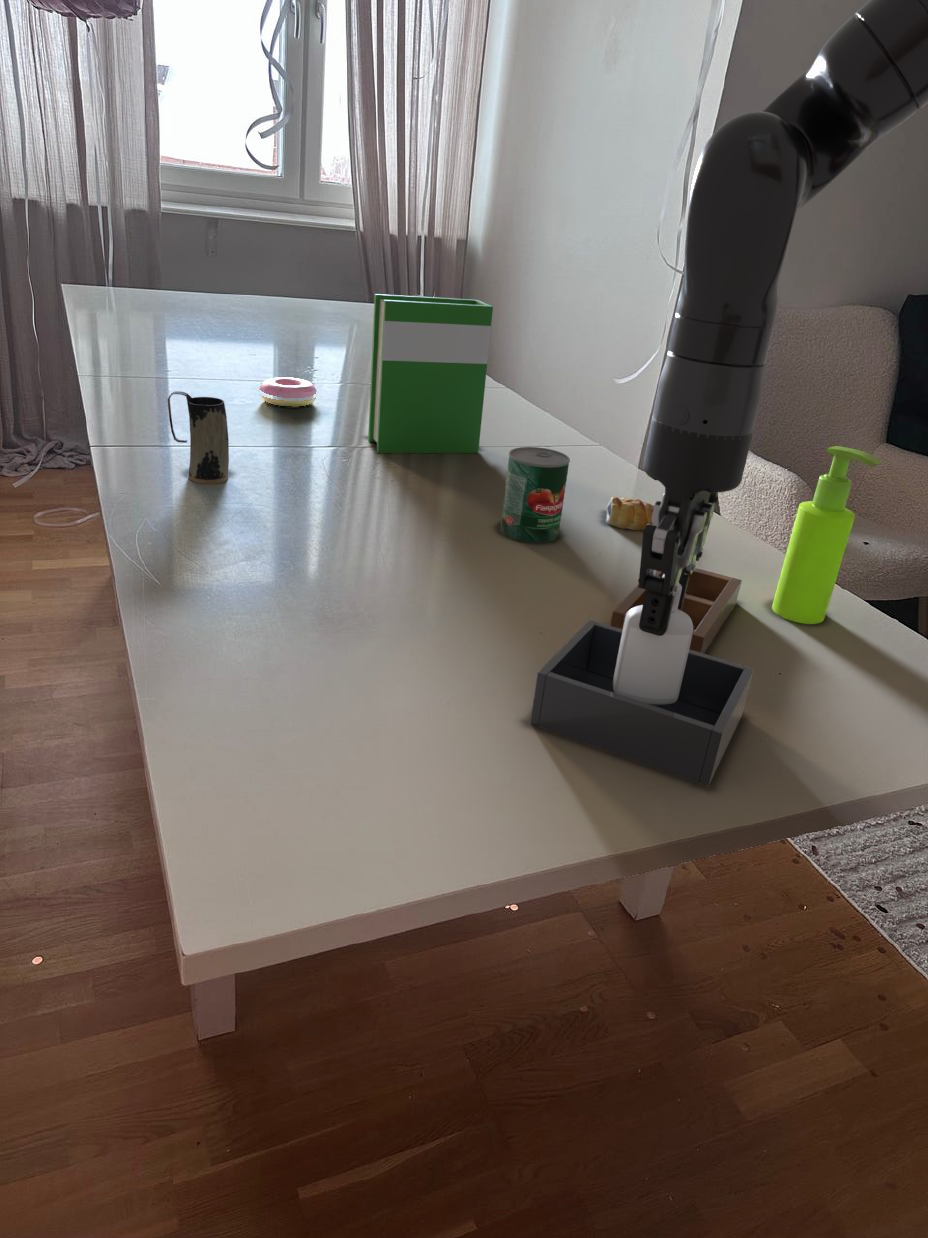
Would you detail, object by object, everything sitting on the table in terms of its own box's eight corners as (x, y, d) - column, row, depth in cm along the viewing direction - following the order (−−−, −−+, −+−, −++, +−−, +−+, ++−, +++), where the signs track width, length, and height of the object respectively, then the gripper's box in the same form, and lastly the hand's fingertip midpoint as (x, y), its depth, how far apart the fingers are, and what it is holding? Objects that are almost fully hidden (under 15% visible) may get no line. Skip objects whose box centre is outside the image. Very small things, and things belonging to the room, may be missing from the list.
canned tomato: (546, 551, 115) (558, 468, 110) (490, 537, 118) (499, 456, 113) (566, 533, 122) (578, 454, 117) (512, 520, 124) (522, 443, 120)
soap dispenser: (816, 636, 100) (868, 461, 91) (761, 612, 104) (806, 444, 95) (840, 623, 103) (893, 454, 95) (786, 601, 108) (832, 438, 99)
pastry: (666, 521, 130) (672, 496, 128) (673, 538, 124) (679, 512, 122) (602, 514, 130) (606, 489, 129) (606, 531, 124) (611, 505, 122)
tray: (735, 607, 105) (742, 579, 103) (696, 668, 90) (704, 637, 89) (656, 585, 108) (661, 558, 107) (607, 640, 94) (612, 611, 92)
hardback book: (377, 452, 148) (385, 300, 137) (368, 440, 154) (374, 293, 144) (478, 452, 154) (493, 306, 143) (464, 440, 160) (478, 299, 149)
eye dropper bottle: (663, 717, 75) (692, 587, 70) (603, 692, 78) (627, 565, 72) (683, 697, 78) (713, 571, 73) (625, 674, 81) (650, 551, 76)
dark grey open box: (740, 721, 82) (754, 668, 79) (706, 792, 71) (722, 733, 69) (580, 670, 88) (589, 619, 85) (529, 728, 77) (537, 672, 75)
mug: (231, 472, 132) (229, 390, 126) (227, 484, 127) (225, 399, 122) (175, 470, 131) (171, 387, 125) (169, 481, 126) (164, 396, 120)
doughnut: (326, 408, 172) (326, 386, 170) (271, 410, 166) (271, 388, 164) (303, 394, 180) (303, 373, 178) (250, 396, 174) (250, 375, 172)
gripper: (732, 447, 60) (681, 669, 68) (770, 412, 72) (723, 605, 79) (626, 425, 63) (588, 641, 70) (679, 395, 74) (642, 583, 82)
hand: (660, 621), depth 75 cm, fingers closed on eye dropper bottle, 4 cm apart
